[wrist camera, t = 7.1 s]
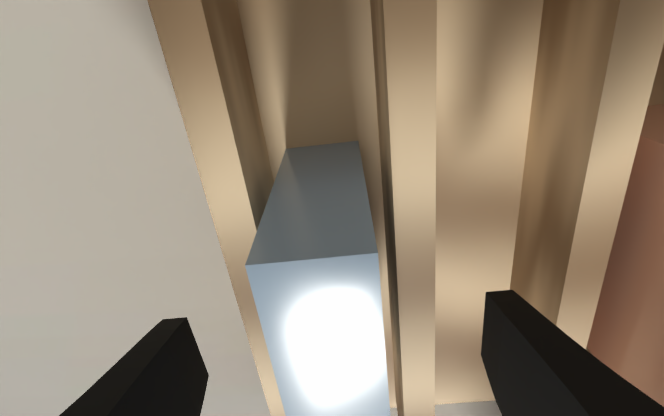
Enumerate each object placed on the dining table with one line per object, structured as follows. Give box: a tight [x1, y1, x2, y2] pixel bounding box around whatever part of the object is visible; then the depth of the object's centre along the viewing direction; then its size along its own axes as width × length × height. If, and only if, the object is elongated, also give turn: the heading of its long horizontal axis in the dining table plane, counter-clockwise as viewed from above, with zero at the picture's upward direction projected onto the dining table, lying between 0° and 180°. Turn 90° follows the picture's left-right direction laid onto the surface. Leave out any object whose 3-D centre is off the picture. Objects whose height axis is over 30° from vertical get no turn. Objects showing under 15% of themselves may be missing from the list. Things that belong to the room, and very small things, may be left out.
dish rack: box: [148, 0, 664, 416], centre depth 12 cm, size 18×16×4 cm
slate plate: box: [245, 141, 390, 416], centre depth 11 cm, size 7×2×6 cm, turn 7°
